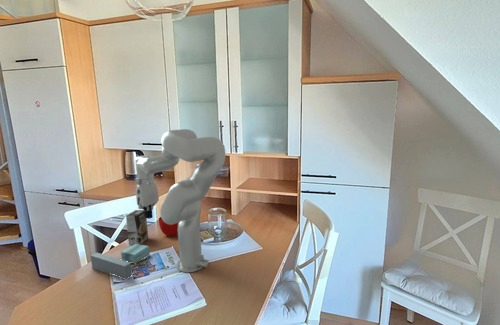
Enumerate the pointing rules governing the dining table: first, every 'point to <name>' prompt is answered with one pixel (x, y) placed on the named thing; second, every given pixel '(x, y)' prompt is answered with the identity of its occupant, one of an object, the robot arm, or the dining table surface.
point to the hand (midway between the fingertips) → (149, 217)
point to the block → (135, 253)
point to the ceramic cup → (168, 228)
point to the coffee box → (137, 227)
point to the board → (111, 265)
